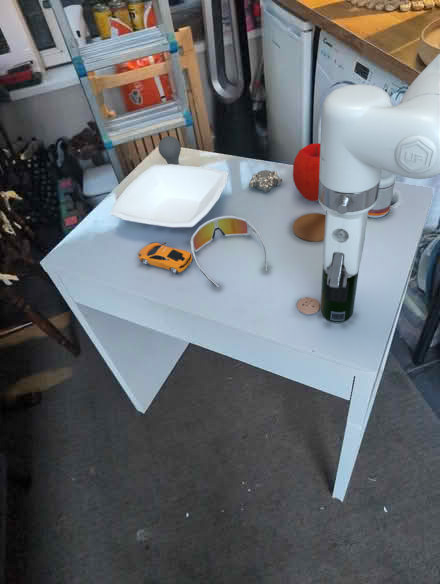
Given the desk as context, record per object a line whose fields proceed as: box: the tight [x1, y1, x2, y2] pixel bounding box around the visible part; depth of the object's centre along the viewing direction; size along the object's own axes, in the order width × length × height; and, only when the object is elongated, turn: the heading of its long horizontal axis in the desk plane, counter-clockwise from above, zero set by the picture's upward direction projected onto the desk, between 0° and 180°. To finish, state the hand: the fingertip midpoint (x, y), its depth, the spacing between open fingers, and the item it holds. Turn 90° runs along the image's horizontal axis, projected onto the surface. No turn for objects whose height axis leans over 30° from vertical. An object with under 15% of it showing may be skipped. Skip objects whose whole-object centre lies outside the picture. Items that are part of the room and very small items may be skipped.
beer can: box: [320, 263, 360, 325], centre depth 70 cm, size 5×5×12 cm
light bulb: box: [157, 135, 182, 165], centre depth 109 cm, size 6×6×10 cm
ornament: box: [248, 169, 283, 192], centre depth 101 cm, size 8×7×4 cm
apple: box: [292, 142, 320, 202], centre depth 93 cm, size 10×10×12 cm
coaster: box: [292, 212, 326, 243], centre depth 90 cm, size 9×9×1 cm
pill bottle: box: [368, 169, 396, 219], centre depth 88 cm, size 6×6×11 cm
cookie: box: [296, 296, 321, 315], centre depth 75 cm, size 4×4×1 cm
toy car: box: [137, 242, 194, 275], centre depth 88 cm, size 6×12×3 cm, turn 61°
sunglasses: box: [190, 215, 268, 288], centre depth 86 cm, size 14×15×5 cm
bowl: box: [109, 163, 229, 228], centre depth 98 cm, size 22×23×6 cm
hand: (339, 284), depth 69 cm, fingers open, 5 cm apart
